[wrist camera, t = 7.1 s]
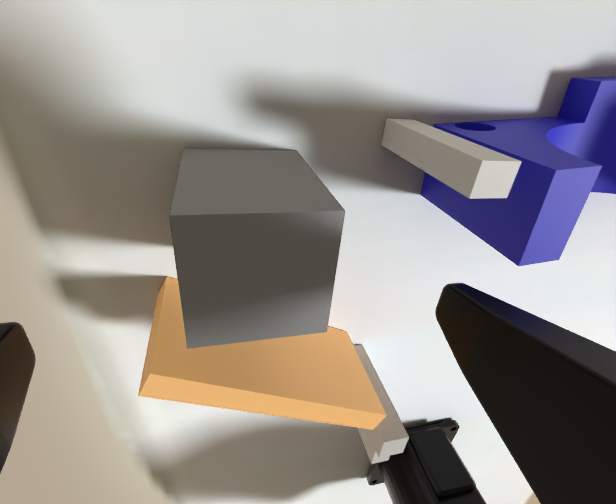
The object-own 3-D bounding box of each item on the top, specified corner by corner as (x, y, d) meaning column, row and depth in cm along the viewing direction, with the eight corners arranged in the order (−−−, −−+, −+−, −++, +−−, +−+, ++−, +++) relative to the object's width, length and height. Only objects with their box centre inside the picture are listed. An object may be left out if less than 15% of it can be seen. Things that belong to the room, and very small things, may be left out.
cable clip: (675, 74, 15) (895, 91, 11) (626, 171, 18) (787, 222, 13) (438, 81, 13) (580, 108, 8) (418, 192, 15) (518, 266, 10)
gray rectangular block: (290, 242, 15) (326, 332, 10) (193, 247, 14) (187, 349, 9) (296, 150, 13) (345, 210, 8) (183, 147, 12) (169, 215, 7)
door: (346, 331, 19) (386, 415, 14) (328, 355, 19) (361, 442, 15) (166, 276, 14) (150, 374, 10) (150, 310, 15) (128, 414, 11)
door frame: (354, 376, 21) (395, 470, 16) (335, 379, 20) (372, 475, 16) (414, 119, 13) (522, 161, 9) (386, 118, 13) (482, 160, 8)
